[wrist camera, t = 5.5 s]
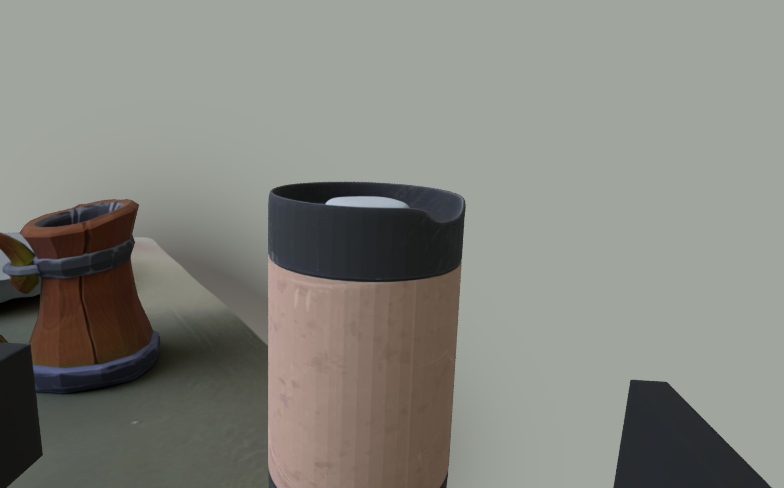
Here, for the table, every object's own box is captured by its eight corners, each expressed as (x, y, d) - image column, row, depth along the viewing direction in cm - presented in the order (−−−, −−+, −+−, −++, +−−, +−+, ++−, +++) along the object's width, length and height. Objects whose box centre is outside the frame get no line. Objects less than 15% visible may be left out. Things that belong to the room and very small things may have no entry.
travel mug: (277, 560, 28) (274, 179, 24) (420, 550, 29) (443, 183, 25) (261, 717, 21) (253, 206, 16) (454, 697, 22) (495, 210, 17)
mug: (-97, 437, 37) (-136, 224, 34) (-76, 371, 46) (-104, 199, 43) (175, 376, 47) (166, 208, 44) (148, 332, 56) (139, 190, 53)
